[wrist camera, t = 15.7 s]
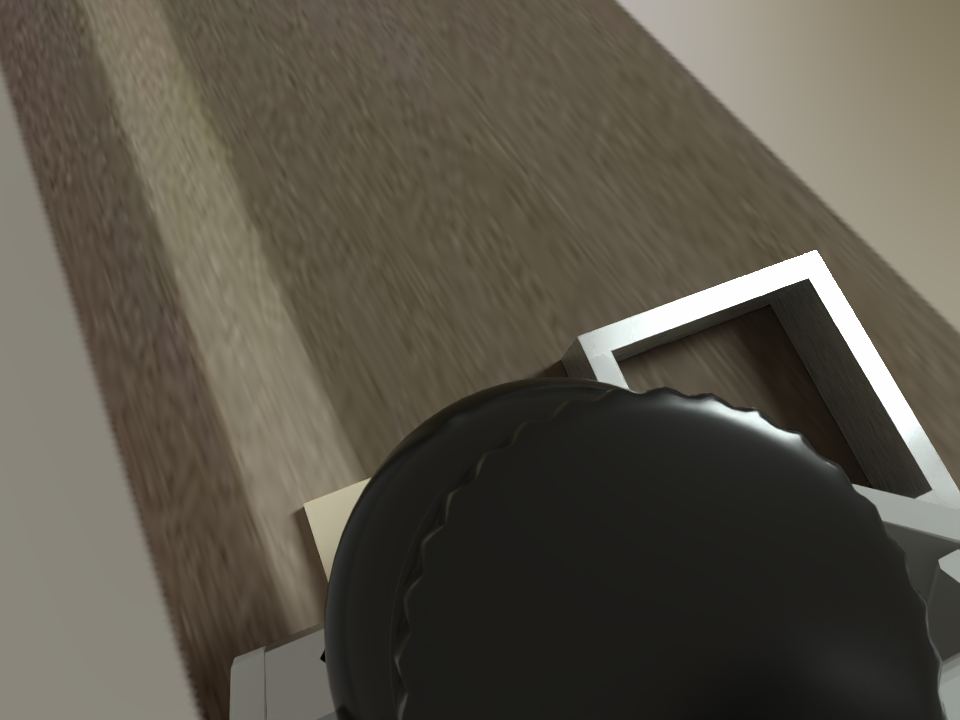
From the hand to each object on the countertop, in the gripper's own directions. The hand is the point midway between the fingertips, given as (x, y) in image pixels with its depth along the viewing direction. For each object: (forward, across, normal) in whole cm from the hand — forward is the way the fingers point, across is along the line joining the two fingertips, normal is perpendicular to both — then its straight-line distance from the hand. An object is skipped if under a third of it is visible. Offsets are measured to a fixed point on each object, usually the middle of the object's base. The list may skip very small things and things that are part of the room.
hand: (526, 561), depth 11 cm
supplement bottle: (+4, 0, +5) cm, 6 cm away
